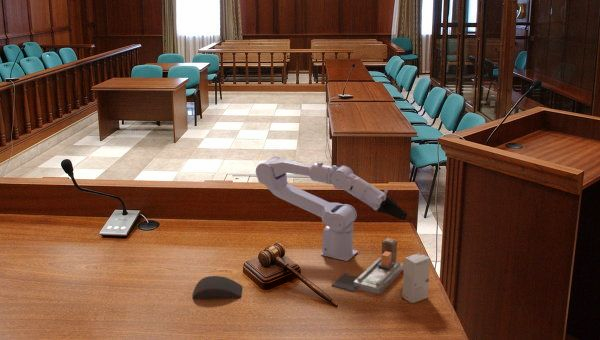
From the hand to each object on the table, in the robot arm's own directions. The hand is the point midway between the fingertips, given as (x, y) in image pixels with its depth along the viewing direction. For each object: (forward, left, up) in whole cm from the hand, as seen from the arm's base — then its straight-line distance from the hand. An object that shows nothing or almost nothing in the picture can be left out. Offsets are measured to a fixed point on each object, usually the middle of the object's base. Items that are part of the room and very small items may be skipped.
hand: (404, 217), depth 182 cm
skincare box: (+10, -15, -17) cm, 25 cm away
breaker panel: (-3, -10, -17) cm, 20 cm away
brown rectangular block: (-5, +2, -17) cm, 18 cm away
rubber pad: (-10, -17, -17) cm, 26 cm away
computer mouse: (-39, -41, -17) cm, 59 cm away
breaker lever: (-3, -5, -14) cm, 16 cm away
